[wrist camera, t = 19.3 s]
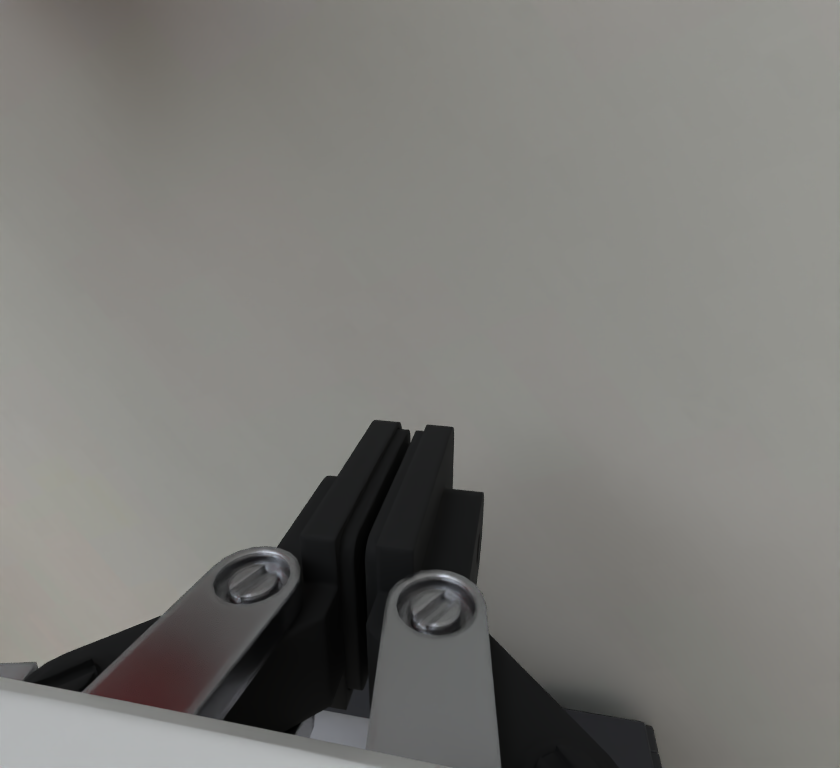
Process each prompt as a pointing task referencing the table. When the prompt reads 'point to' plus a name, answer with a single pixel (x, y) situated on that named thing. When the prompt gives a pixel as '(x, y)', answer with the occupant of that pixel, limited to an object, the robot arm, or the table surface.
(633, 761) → the pull-out drawer
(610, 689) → the table surface
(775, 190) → the table surface
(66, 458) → the table surface
